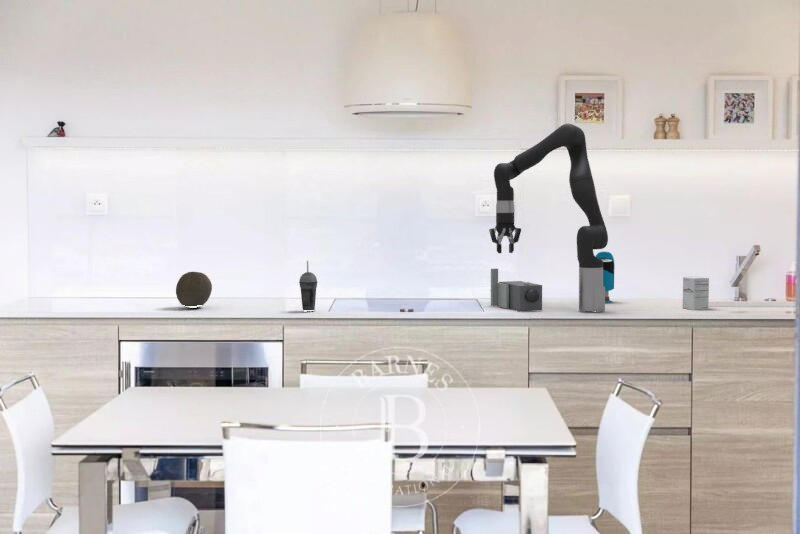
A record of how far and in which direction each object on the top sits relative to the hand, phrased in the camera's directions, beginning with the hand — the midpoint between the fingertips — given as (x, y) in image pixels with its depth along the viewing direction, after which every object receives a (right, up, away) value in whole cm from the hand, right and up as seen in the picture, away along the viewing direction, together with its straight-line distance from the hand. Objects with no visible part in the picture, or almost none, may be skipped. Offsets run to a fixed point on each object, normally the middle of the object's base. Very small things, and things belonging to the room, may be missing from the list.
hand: (505, 252), depth 427 cm
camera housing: (+5, -22, -15) cm, 28 cm away
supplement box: (+73, -23, -19) cm, 79 cm away
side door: (-3, -22, -12) cm, 25 cm away
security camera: (+42, -21, +5) cm, 47 cm away
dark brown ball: (-127, -23, -8) cm, 129 cm away
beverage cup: (-79, -24, -21) cm, 86 cm away
